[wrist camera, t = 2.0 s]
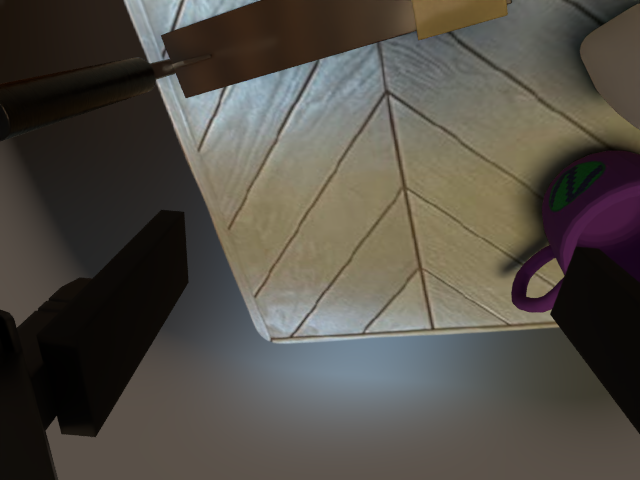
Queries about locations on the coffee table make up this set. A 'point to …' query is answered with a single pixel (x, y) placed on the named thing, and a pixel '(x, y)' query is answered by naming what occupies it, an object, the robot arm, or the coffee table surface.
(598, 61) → the cup
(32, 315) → the robot arm
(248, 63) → the board
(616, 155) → the mug
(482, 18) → the butter
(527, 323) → the coffee table surface
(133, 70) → the knife
